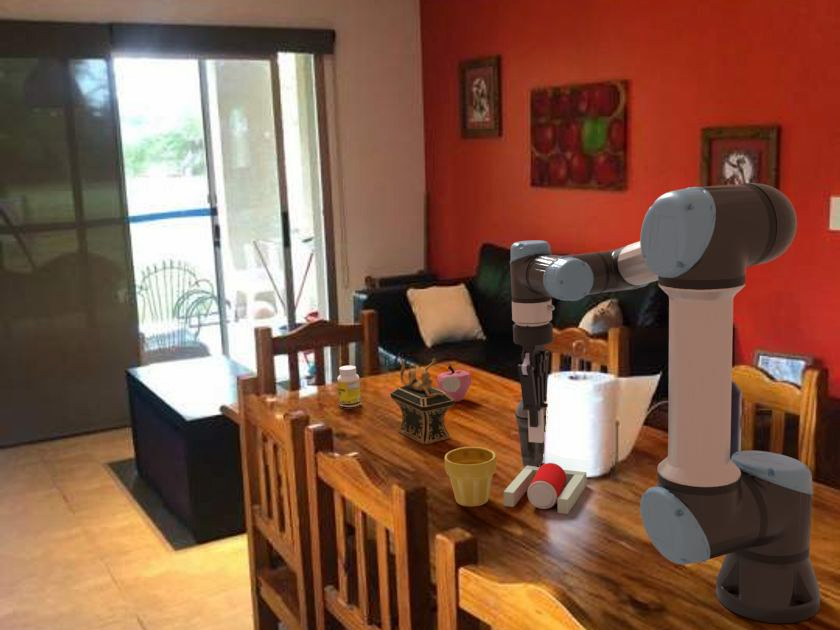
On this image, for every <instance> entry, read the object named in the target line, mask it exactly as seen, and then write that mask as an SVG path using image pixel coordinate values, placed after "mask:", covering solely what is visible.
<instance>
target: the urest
mask: <svg viewBox="0 0 840 630" xmlns="http://www.w3.org/2000/svg"><path fill="white" fill-rule="evenodd" d="M540 467H541V466H539V467H535V466H524V468H523V469H522V470H521V471H520V472H519V474H518V475H517V476H516V477H515V478H514V479H513V480H512V481H511V482H510V484H509V485H508V486H507V487H506V488H505V489H504V491H503V506H504V507H509V508H510V507H511V508H514V507H515V506H516V505H517V504H518V502H520V500H521V498H522V497H524V495H525V494H526V492H527V491H528V487H529V485H530V484H531V482H532V480H533V478H534V476H535V474H536V473H537V471H538V469H539V468H540ZM563 470H564V472H565V474H566V483H565V486H564V488H563V490H562V492H561V494H560V495H559V497H558V498H557V503H556V504H557V514H565V515H568V514H569V513H570V511H571V510H572V508H573V507H574V506H575V504H576V503H577V501H578V500H579V498H580V497H581V495H582V493H583V492H584V490H585V489H586V487H587V483H588V482H587V471H577V470H569V469H563Z"/></svg>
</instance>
